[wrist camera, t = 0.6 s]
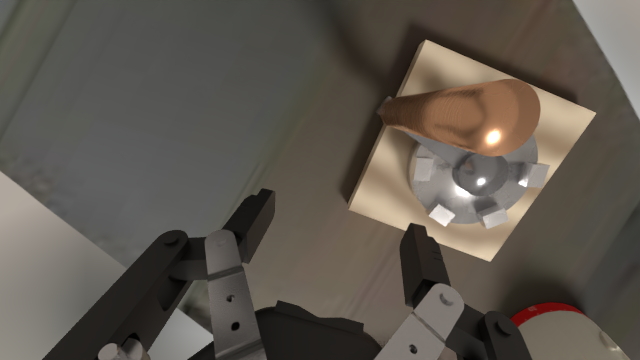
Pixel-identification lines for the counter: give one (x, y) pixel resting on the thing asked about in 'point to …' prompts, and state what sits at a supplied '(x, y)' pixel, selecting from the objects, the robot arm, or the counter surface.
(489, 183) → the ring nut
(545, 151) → the nut base plate
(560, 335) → the kitchen timer
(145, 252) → the robot arm
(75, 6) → the counter surface
